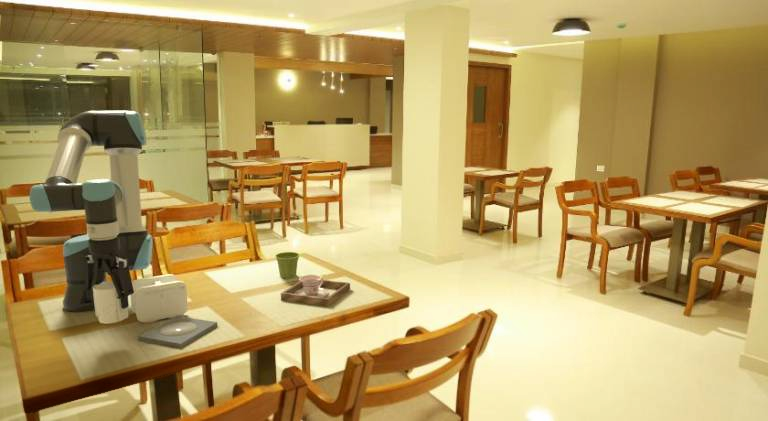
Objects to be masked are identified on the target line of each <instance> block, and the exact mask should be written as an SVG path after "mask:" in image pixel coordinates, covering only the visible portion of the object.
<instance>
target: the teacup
mask: <svg viewBox="0 0 768 421" xmlns="http://www.w3.org/2000/svg"><path fill="white" fill-rule="evenodd" d="M323 280H324V277H323V276H322V275H319V274H307V275H303V276H302V275H301V277H299V278H298V281H299V282H301V283H302V285H303V288H302V289H300V290H298V291H296V292H295V293H294V294H300V295H307V296H315V297H323V298H326V297H327V296H328V294H329V292H328V290H327V289H325V288H323V287H321V285H322V283H323ZM320 282H321V283H320ZM319 284H320V285H319Z"/></svg>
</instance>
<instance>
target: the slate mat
mask: <svg viewBox="0 0 768 421" xmlns="http://www.w3.org/2000/svg"><path fill="white" fill-rule="evenodd" d="M217 327H218V321H212V320H206V319H201V318H200V319H199V318H193V317H188V316H187V317H186V316H182V315H179V316H176V317H174V318H169V319H168V320H166V321H164V322H162V323H160V324H158V325H157V326H155V327H152V328H151V329H148V330H147V331H145V332H143V333H141V334H139V335H137V340H138V341H141V342H147V343H151V344H157V345H163V346H168V347H169V346H170V347H173V346H174V348H180V349H182V348H183V347H185V346H187V345H189V344H191V343H192V342H193V341H195V340H197V339H198V338H200V337H202V336H203V335H205V334H207V333H208V332H210V331H212V330H213V329H215V328H217ZM181 347H182V348H181Z"/></svg>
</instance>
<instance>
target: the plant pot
mask: <svg viewBox="0 0 768 421" xmlns="http://www.w3.org/2000/svg"><path fill="white" fill-rule="evenodd" d="M274 256H275V258H276V261H277V264H278V272H279V277H280V278H281V279H284V280H285V279H294V278H295V277H296V276H297V269H298V261H299V258H300V256H301V255H300V253H298V252H296V251H295V252H294V251H285V252H284V251H283V252H279V253H277V254H275V255H274Z"/></svg>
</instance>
